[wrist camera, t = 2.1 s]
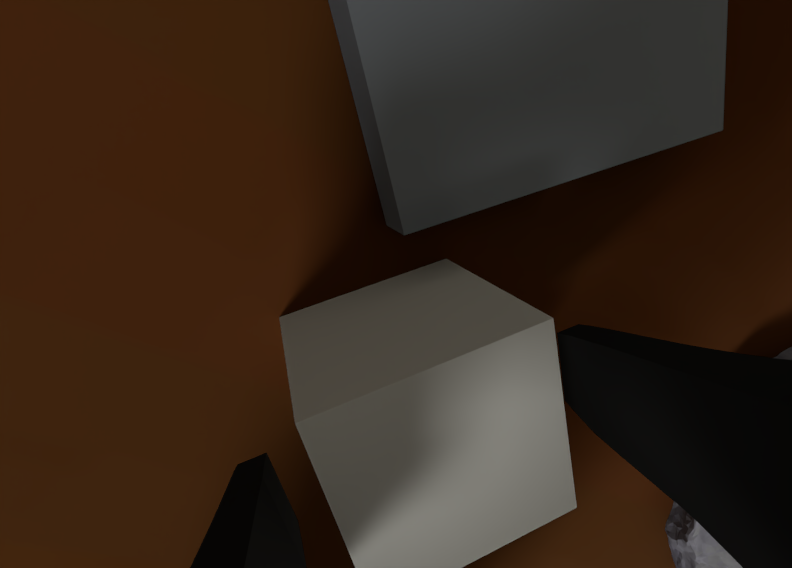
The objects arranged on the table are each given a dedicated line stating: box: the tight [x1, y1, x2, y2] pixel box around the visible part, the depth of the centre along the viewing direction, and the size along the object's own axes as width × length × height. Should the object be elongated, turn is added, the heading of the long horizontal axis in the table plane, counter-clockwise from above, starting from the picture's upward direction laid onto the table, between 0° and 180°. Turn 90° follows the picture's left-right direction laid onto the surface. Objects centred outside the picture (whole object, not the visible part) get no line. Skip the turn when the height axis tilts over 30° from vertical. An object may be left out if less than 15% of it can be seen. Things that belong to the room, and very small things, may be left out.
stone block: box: [665, 347, 792, 568], centre depth 19 cm, size 12×5×10 cm
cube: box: [279, 259, 577, 568], centre depth 11 cm, size 5×5×5 cm
